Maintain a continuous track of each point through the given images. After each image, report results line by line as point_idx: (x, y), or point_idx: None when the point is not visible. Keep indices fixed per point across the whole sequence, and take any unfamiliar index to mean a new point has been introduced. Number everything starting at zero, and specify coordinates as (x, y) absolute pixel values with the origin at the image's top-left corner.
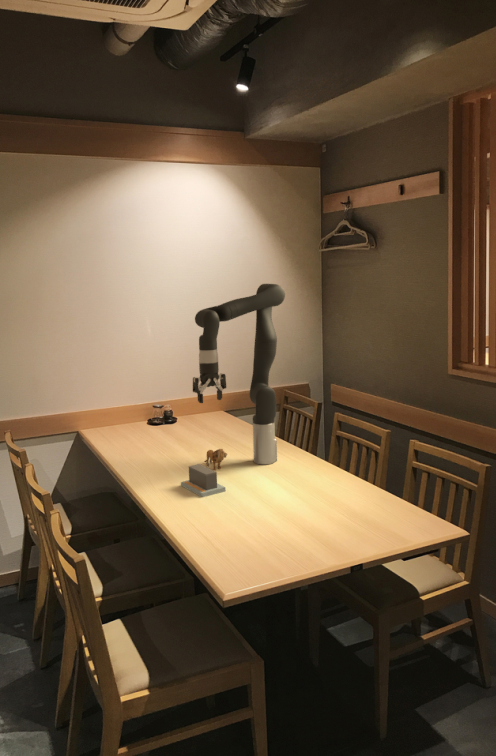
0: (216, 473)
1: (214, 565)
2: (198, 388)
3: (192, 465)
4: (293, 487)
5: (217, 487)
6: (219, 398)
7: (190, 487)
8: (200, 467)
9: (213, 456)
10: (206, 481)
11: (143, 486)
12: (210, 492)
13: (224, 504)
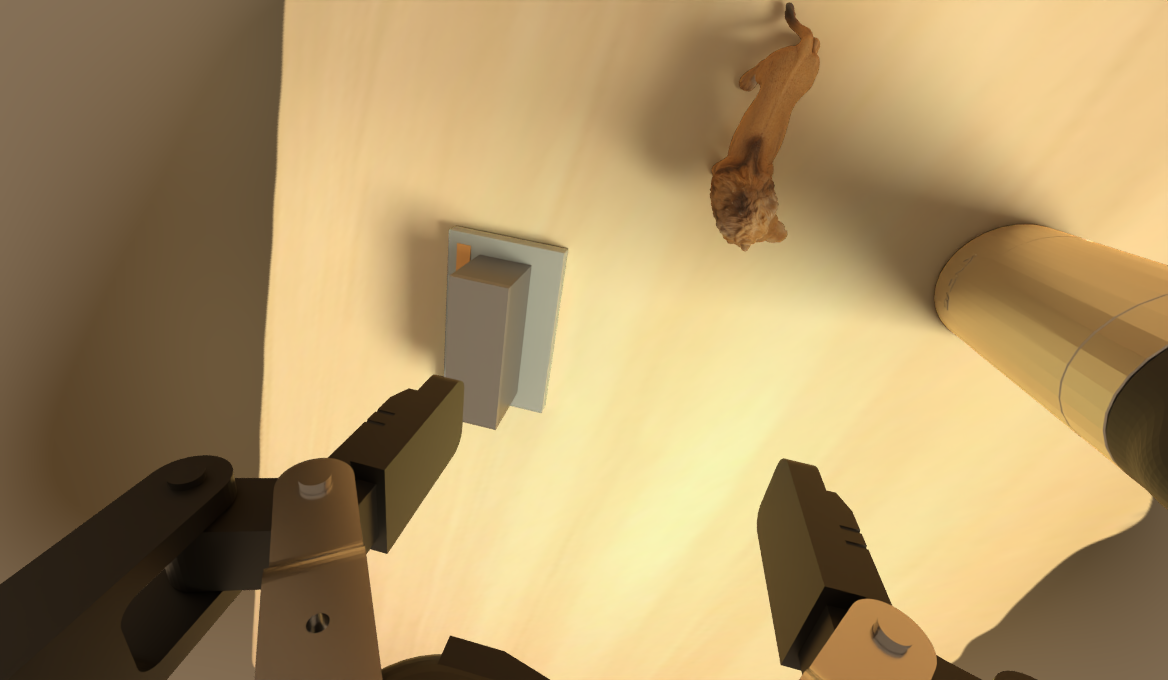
0: (496, 426)
1: None
2: (271, 551)
3: (469, 282)
4: (731, 553)
5: (519, 392)
6: (764, 526)
7: (447, 308)
8: (480, 335)
9: (713, 185)
10: None
11: (324, 93)
12: None
13: (466, 471)
